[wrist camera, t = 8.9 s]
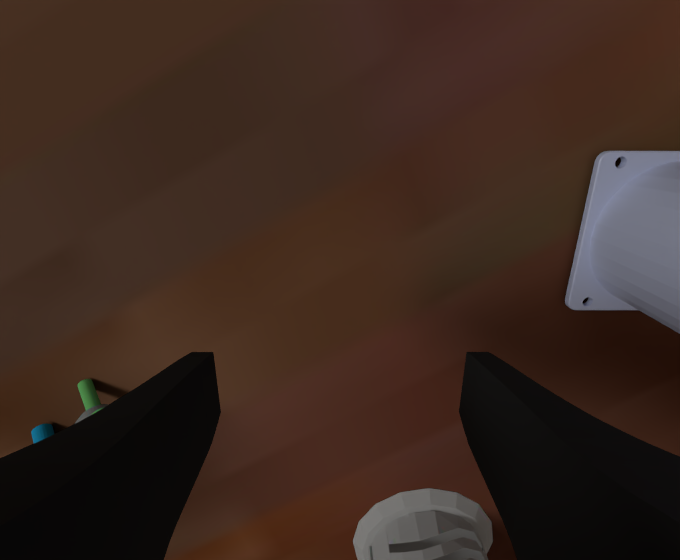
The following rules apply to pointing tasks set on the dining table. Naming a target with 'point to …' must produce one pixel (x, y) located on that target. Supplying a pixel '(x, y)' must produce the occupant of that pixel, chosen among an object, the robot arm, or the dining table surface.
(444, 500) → the french press
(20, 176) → the dining table surface
